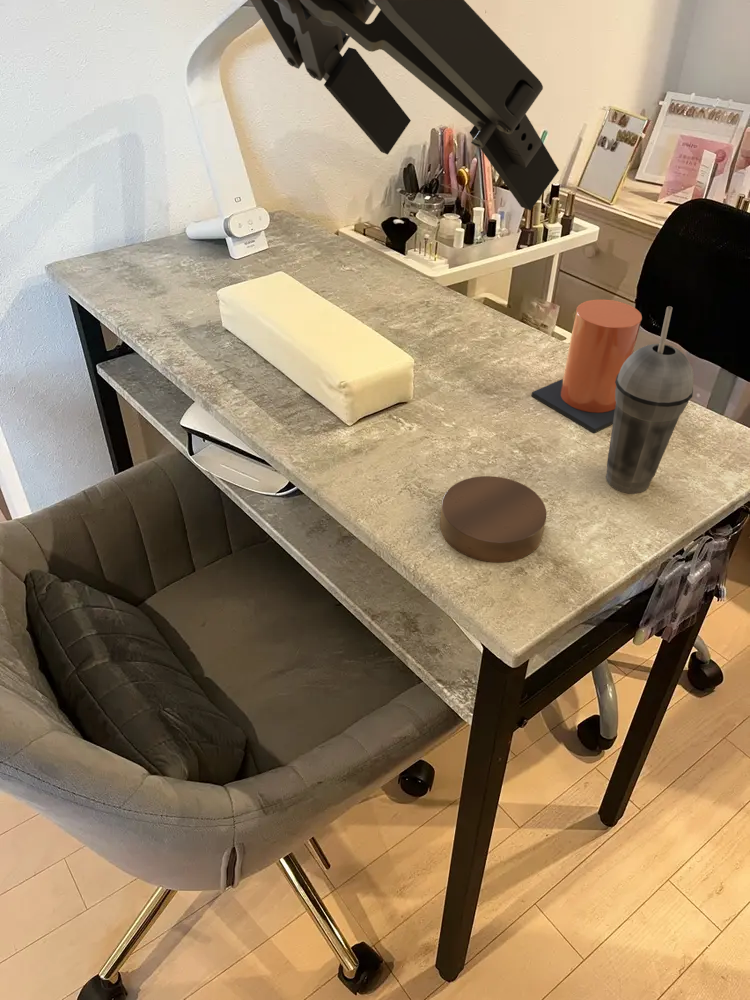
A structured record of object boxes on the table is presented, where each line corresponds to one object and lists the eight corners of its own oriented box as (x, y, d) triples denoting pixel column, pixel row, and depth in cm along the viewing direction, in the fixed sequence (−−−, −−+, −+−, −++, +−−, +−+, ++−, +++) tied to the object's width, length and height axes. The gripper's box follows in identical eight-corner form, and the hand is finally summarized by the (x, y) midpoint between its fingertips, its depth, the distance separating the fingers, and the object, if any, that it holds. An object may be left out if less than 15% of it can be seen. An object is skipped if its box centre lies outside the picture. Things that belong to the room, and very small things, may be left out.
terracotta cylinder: (633, 400, 93) (655, 316, 86) (593, 419, 89) (613, 333, 82) (587, 376, 97) (605, 294, 90) (547, 393, 94) (563, 309, 87)
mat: (649, 406, 93) (650, 402, 92) (594, 433, 88) (595, 429, 88) (585, 372, 99) (586, 368, 99) (531, 396, 94) (531, 391, 94)
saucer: (564, 534, 74) (568, 515, 73) (489, 577, 70) (492, 557, 68) (492, 483, 81) (495, 464, 79) (419, 519, 76) (420, 500, 74)
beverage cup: (676, 482, 81) (735, 305, 69) (638, 511, 77) (692, 329, 65) (617, 452, 85) (663, 280, 73) (578, 478, 81) (618, 301, 69)
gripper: (68, -94, 40) (319, 163, 56) (337, -67, 25) (574, 276, 41) (147, -226, 39) (378, 74, 56) (477, -284, 24) (662, 156, 40)
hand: (462, 160), depth 48 cm, fingers open, 13 cm apart
